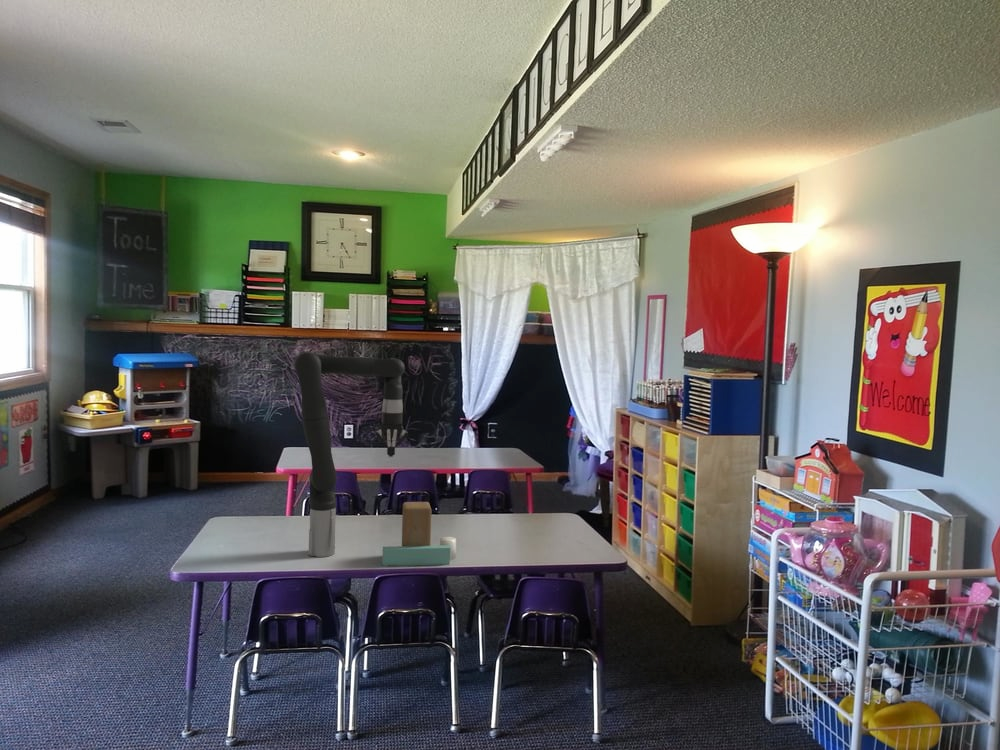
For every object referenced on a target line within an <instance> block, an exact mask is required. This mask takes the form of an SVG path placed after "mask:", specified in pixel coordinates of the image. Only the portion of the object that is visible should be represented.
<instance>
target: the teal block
mask: <svg viewBox="0 0 1000 750" xmlns="http://www.w3.org/2000/svg"><path fill="white" fill-rule="evenodd" d="M381 563H382V564H383V565H382V567H384V566H385V567H386V566H388V565H398V566H427V565H429V566H432V565H433V566H435V565H450V563H451V560H450V546H449V545H444V546H440V545H430V546H402V545H400V546H399V545H398V546H397V545H396V546H395V545H394V546H382V561H381Z"/></svg>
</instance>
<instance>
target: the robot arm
mask: <svg viewBox="0 0 1000 750" xmlns="http://www.w3.org/2000/svg"><path fill="white" fill-rule="evenodd" d="M293 364H294V366H293V367H294V369H295V371H296V374H297V378H298V382H299V387H300V391H301V392H300V393H301V419H302V427H303V432H304V437H305V440H306V443H307V447H308V450H309V454H310V458H311V471H310V474H309V508H310V509H309V529H308V556H309V555H310V556H309V557H311V556H312V557H315V556H316V557H317V558H323V557H324V558H325V557H330V556H333V555H335V553H336V552H335V551H336V518H337V517H336V516H337V515H336V512H337V510H336V509H337V499H336V485H337V482H338V474H337V472H336V471H337V470H336V468H335V467H336V466H335V463H334V460H333V458H334V457H333V454H332V453H333V452H332V440H331V437H332V436H331V427H330V419H329V413H328V407H327V403H326V400H325V396H324V392H323V381H322V375H323V374H338V375H339V374H340V375H346V376H347V375H348V376H357V377H358V376H359V377H383V401H382V408H381V409H382V416H381V425H380V429H378V430H375V432H374V433H375V436H376V437H377V438H378V440H379V441H380V442H381V444H382V445H383V446H386V454H387V456H388V457H389V458H390V457H392V458H393V457H394V456H395V454H396V447H397V446H401V444H402V443H403V442H404V440H406V438H407V437H408V435H409V433H408V431H406V430H405V429H404V427H403V408H404V405H403V391H404V390H403V385H402V376H403V375H404V372H405V369H406V367H405V363H404V362H403V361H402V360H401V359H398V358H396V357H395V358H394V357H391V358H377V357H368V356H331V355H329V356H328V355H322V354H317V353H314V352H311V351H303V352H301V353H299V354H298V355H297V356H296V357H295V359H294V363H293ZM382 434H383V435H384V436H385V437H386V440H385V439H384V438H383V436H382ZM400 435H401V436H400ZM399 436H400V437H399ZM398 437H399V439H398V440H397V438H398ZM391 438H392V440H391Z"/></svg>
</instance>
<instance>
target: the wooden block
mask: <svg viewBox="0 0 1000 750" xmlns="http://www.w3.org/2000/svg"><path fill="white" fill-rule="evenodd" d="M401 521H402V522H401V523H402V524H401V546H431V537H432V508H431V505H430V502H429V501H405V502H403V503H402V520H401Z"/></svg>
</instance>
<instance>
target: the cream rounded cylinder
mask: <svg viewBox="0 0 1000 750" xmlns="http://www.w3.org/2000/svg"><path fill="white" fill-rule="evenodd" d="M444 545H449V546H450V561H454V560H455V559H456V558H457V538H456V537H453V536H443V537H440V538H439V546H444Z"/></svg>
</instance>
